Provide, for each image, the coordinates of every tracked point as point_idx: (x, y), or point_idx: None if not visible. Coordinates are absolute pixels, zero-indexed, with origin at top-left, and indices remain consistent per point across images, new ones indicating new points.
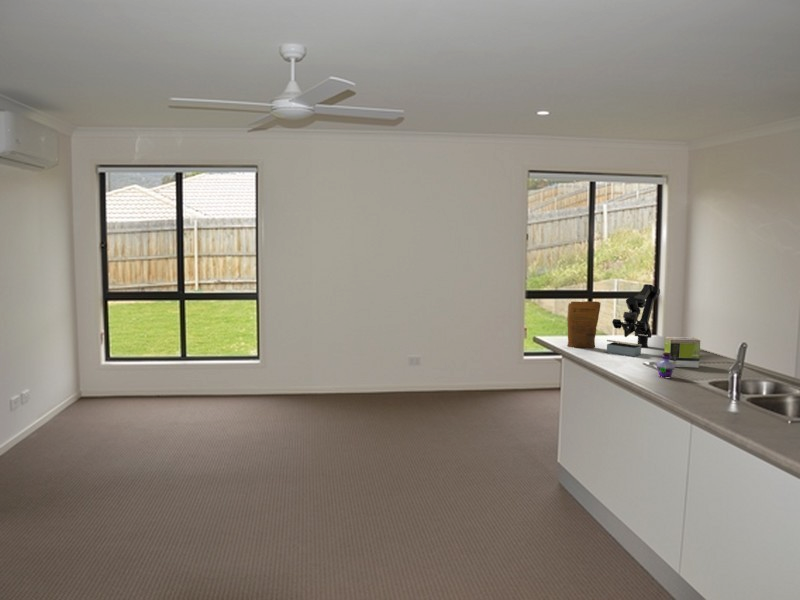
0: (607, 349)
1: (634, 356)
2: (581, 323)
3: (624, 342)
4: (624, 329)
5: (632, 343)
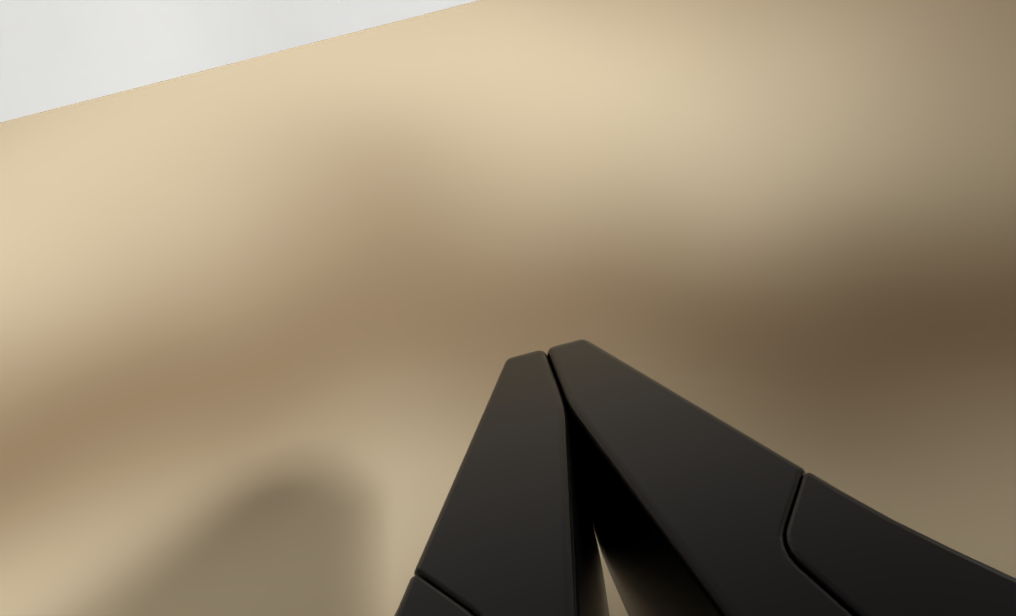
0: None
1: None
2: None
3: (320, 47)
4: (870, 535)
5: (25, 121)
